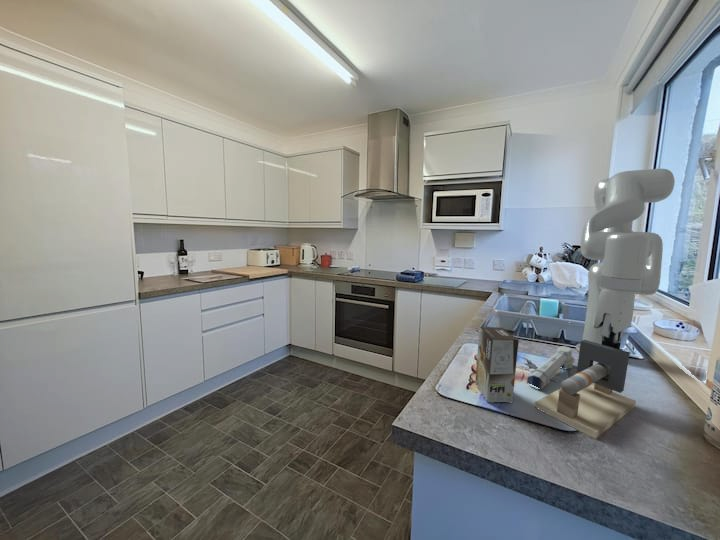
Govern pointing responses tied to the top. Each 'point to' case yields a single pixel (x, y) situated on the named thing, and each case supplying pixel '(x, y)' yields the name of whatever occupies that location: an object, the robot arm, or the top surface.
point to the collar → (608, 357)
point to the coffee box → (496, 364)
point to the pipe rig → (587, 402)
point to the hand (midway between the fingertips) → (609, 356)
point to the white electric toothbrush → (551, 367)
